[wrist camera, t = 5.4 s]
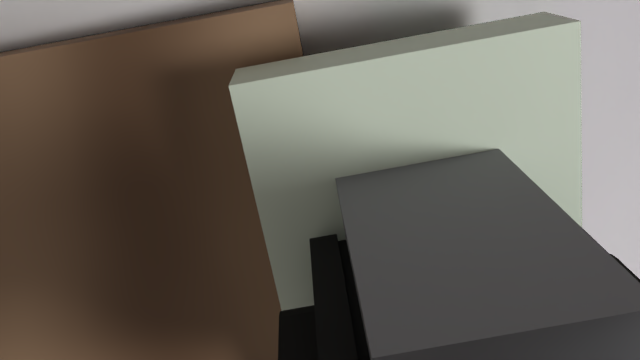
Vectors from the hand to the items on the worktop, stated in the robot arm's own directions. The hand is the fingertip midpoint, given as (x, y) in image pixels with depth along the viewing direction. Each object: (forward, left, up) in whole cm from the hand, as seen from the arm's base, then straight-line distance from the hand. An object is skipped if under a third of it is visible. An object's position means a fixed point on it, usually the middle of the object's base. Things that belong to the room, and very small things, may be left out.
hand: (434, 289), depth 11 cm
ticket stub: (0, 0, -2) cm, 2 cm away
